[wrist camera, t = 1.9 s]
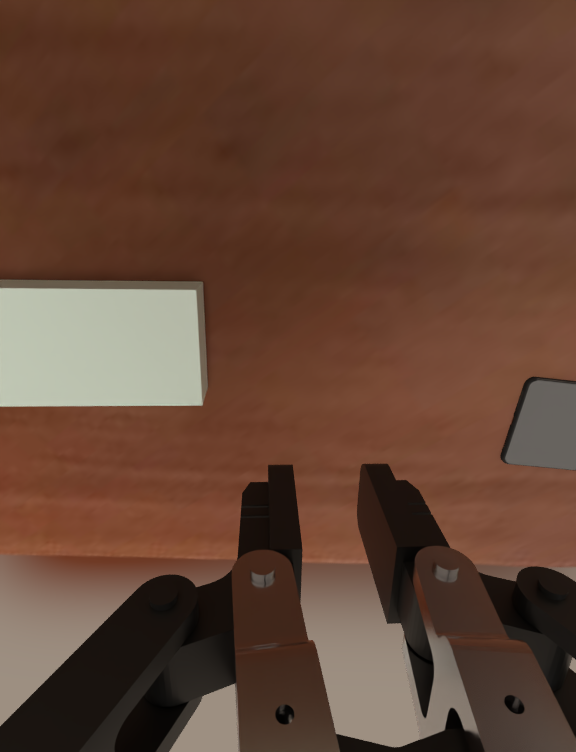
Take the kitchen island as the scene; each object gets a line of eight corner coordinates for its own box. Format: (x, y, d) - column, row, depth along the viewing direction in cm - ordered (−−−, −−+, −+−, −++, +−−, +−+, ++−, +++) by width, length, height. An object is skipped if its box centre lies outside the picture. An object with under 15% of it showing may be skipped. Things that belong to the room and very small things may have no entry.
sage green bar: (-68, 278, 27) (-106, 287, 24) (202, 281, 28) (196, 290, 25) (-40, 387, 29) (-72, 406, 27) (207, 387, 30) (202, 405, 27)
